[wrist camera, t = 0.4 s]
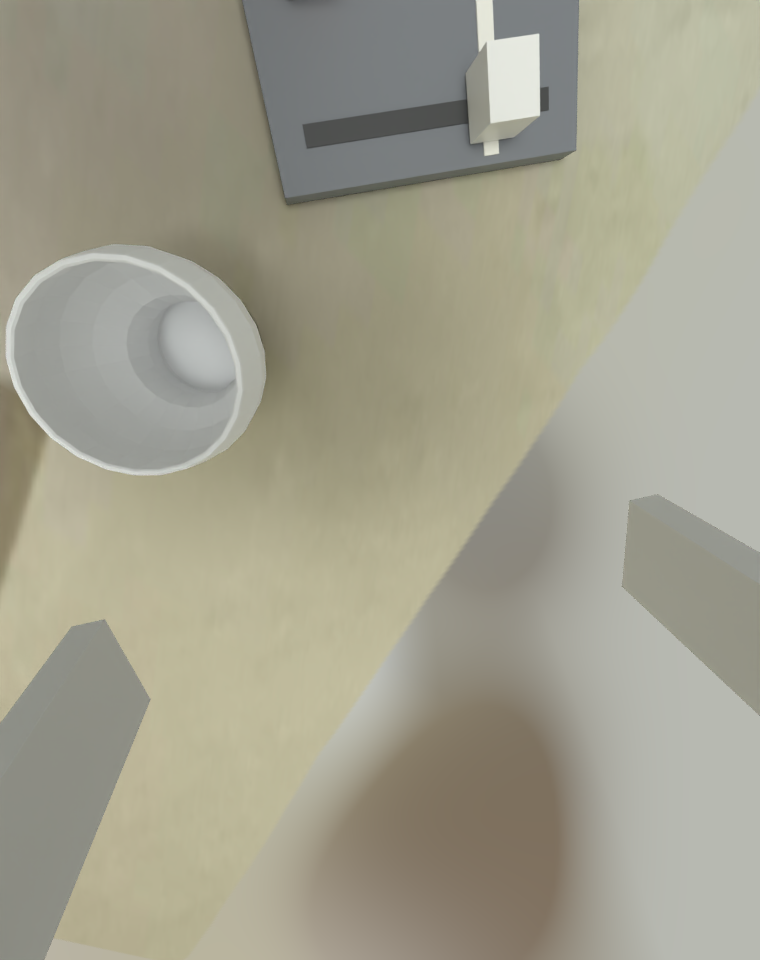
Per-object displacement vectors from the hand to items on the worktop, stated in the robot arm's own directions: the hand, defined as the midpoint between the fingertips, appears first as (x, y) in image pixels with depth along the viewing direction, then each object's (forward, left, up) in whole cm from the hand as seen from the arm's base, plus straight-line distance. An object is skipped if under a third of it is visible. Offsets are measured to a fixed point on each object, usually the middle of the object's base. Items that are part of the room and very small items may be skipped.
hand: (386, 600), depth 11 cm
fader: (-17, +13, -24) cm, 32 cm away
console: (-21, +9, -26) cm, 35 cm away
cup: (-6, -9, -27) cm, 29 cm away
